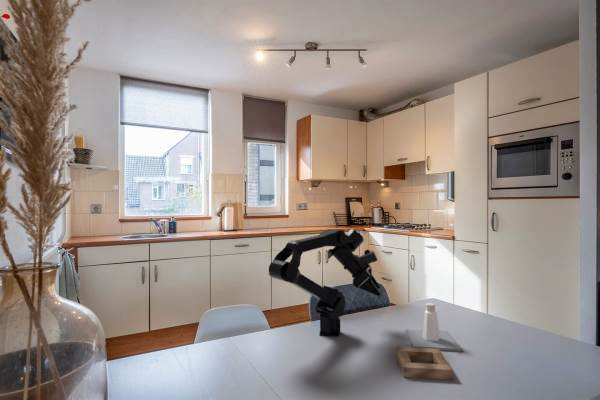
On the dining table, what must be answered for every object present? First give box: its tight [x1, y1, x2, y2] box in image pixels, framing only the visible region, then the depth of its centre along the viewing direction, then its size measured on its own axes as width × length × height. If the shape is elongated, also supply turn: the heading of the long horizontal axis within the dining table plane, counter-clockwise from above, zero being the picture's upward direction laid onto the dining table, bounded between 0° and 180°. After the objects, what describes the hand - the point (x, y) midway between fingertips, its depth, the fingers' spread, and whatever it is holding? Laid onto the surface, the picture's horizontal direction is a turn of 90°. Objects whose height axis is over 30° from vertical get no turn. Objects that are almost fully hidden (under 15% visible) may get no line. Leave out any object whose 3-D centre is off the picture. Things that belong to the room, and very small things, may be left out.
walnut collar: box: [395, 346, 454, 381], centre depth 88 cm, size 12×12×2 cm
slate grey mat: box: [404, 328, 463, 352], centre depth 105 cm, size 14×14×1 cm
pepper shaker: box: [422, 302, 440, 341], centre depth 105 cm, size 5×5×11 cm
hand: (379, 291), depth 114 cm, fingers open, 9 cm apart
